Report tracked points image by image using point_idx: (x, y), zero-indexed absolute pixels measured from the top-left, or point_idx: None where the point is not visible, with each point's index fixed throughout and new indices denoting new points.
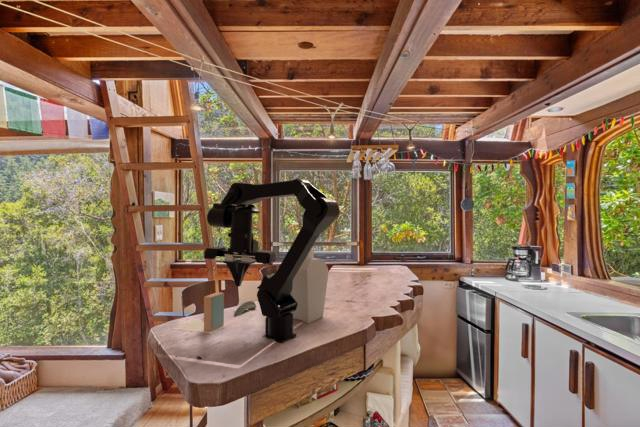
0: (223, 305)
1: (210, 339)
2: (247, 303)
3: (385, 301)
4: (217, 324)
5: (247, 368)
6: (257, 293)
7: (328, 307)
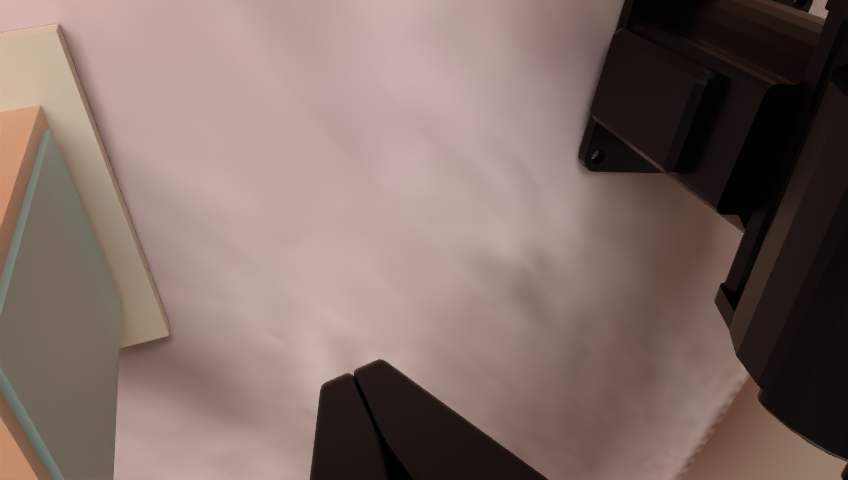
0: (24, 244)
1: (241, 362)
2: None
3: None
4: (92, 241)
5: (668, 455)
6: (798, 433)
7: None
